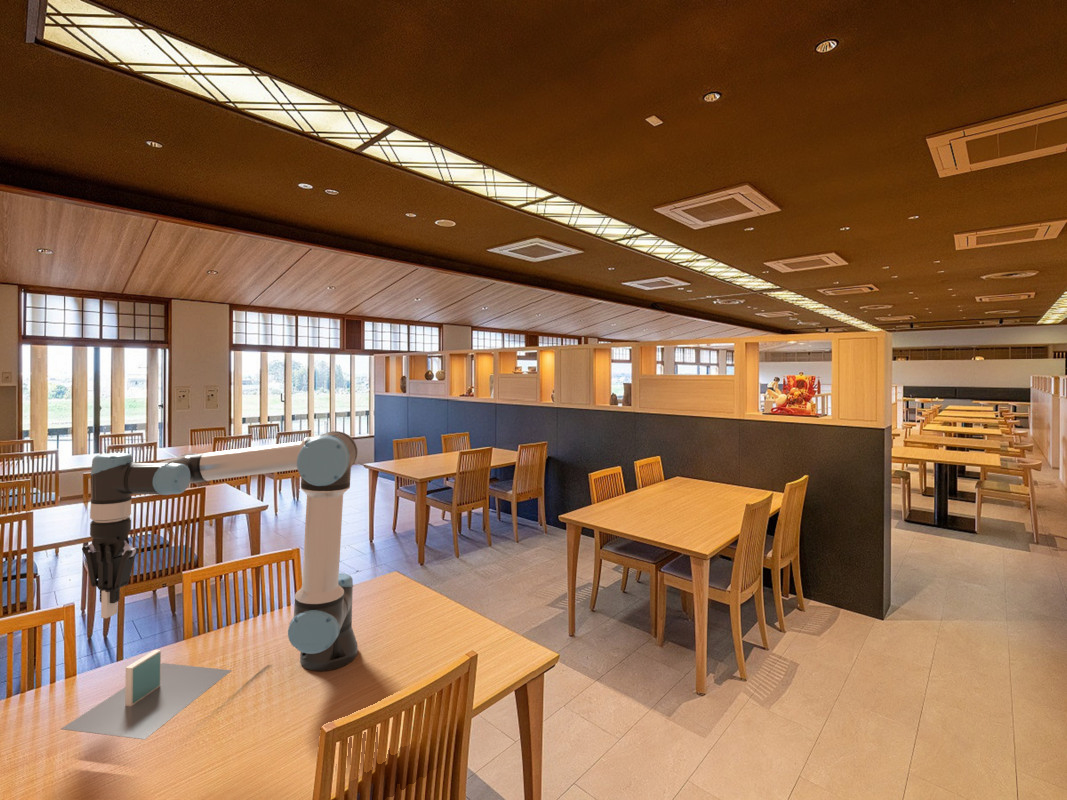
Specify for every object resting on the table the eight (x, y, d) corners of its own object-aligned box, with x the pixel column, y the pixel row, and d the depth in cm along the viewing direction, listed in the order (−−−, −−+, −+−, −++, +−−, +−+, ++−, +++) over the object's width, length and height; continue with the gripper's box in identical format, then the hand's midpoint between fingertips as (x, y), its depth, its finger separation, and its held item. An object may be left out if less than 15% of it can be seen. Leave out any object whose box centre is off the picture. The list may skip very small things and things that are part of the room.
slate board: (231, 674, 132) (231, 670, 132) (144, 744, 106) (144, 739, 106) (162, 667, 134) (162, 662, 134) (60, 734, 109) (60, 728, 109)
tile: (161, 685, 125) (161, 650, 124) (131, 706, 117) (132, 668, 116) (154, 685, 125) (155, 649, 124) (125, 705, 117) (125, 667, 116)
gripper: (149, 516, 123) (147, 611, 124) (101, 512, 125) (100, 606, 125) (121, 524, 116) (119, 625, 117) (70, 520, 117) (69, 620, 118)
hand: (109, 615), depth 121 cm, fingers closed
